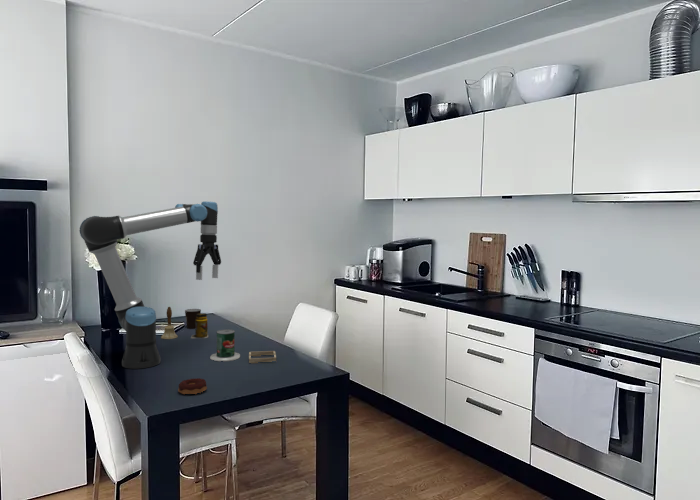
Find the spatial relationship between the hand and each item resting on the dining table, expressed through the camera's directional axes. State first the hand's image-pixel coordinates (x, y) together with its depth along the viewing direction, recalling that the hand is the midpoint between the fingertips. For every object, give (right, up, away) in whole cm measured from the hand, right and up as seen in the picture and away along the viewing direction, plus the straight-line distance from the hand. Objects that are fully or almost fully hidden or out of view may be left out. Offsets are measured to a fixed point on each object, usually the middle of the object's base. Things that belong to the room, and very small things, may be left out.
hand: (207, 278), depth 238 cm
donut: (+11, -38, -58) cm, 70 cm away
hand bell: (-25, -32, +20) cm, 46 cm away
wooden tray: (+29, -35, -17) cm, 48 cm away
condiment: (-10, -32, +23) cm, 41 cm away
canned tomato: (+12, -34, -14) cm, 39 cm away
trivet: (+12, -34, -15) cm, 39 cm away
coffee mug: (-20, -30, +45) cm, 58 cm away
